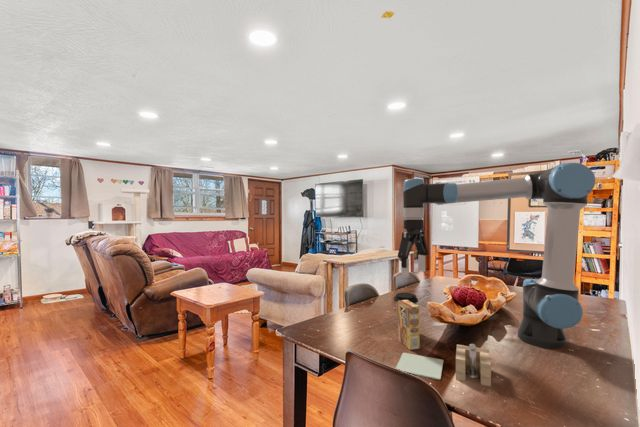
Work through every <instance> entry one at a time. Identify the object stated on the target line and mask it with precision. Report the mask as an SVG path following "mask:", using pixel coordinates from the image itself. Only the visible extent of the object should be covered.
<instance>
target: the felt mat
mask: <svg viewBox="0 0 640 427" xmlns="http://www.w3.org/2000/svg"><path fill="white" fill-rule="evenodd" d="M443 365H444V359H440V358H435V357H429V356H425V355H418V354H414V353H413V354H412V353H407V352H402V354H401V356H400V358H399V360H398V362H397V364H396V366H395V369H396V368H397V369H400V370H402V371H406V372H409V373H411V374H410V375H413V374H414V375H413V376H419V377H423V378H426V379H427V378H428V379H433V380H437V381H441V380H442V372H443V367H444V366H443Z"/></svg>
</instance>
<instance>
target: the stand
mask: <svg viewBox="0 0 640 427" xmlns="http://www.w3.org/2000/svg"><path fill="white" fill-rule="evenodd" d="M468 346H469V369H468V372H467V373H466V376H467V377H468V378H471V379H475V380H477V379H479V374H478V373H477V371H476V350H477V348H478V347H477V345H476V344H475V343H470V344H468Z"/></svg>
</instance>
